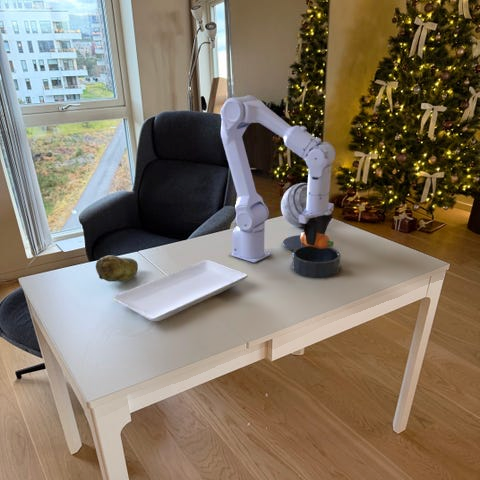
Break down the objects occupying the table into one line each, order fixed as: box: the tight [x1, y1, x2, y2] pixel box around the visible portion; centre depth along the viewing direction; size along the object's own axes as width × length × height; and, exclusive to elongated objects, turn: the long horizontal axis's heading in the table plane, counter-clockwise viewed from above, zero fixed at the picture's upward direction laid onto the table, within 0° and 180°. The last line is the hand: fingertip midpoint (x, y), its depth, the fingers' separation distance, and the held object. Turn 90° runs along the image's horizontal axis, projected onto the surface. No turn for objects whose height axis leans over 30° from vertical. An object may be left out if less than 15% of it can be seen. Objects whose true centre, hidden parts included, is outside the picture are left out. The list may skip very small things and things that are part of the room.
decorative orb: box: [280, 182, 308, 228], centre depth 157 cm, size 15×14×15 cm
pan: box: [291, 246, 342, 279], centre depth 127 cm, size 13×13×4 cm
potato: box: [95, 254, 139, 283], centre depth 121 cm, size 8×13×8 cm, turn 131°
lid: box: [282, 230, 307, 252], centre depth 142 cm, size 14×14×5 cm
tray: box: [113, 259, 249, 322], centre depth 113 cm, size 17×31×4 cm, turn 136°
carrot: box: [300, 231, 334, 249], centre depth 123 cm, size 10×4×4 cm, turn 50°
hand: (314, 241), depth 124 cm, fingers closed on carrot, 4 cm apart
